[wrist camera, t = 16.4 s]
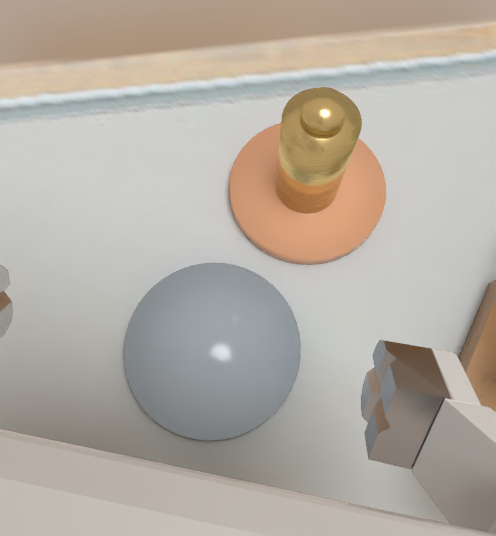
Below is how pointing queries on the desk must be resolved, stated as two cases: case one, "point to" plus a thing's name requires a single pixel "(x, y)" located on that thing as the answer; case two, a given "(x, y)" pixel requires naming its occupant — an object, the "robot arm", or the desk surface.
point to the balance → (482, 351)
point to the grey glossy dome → (212, 351)
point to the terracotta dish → (298, 224)
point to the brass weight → (315, 148)
